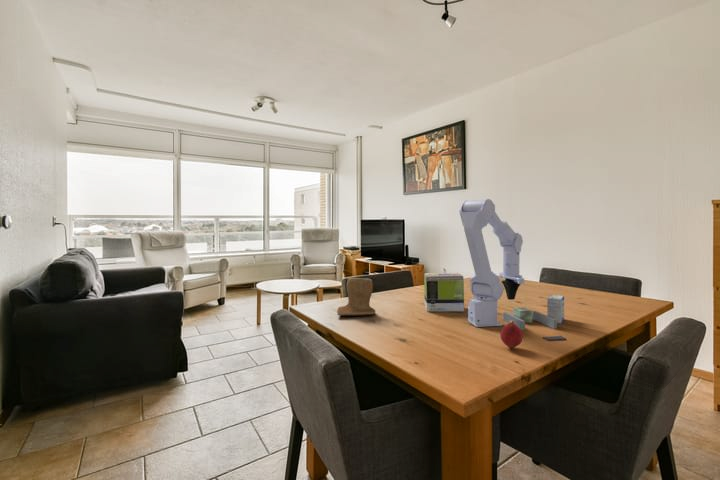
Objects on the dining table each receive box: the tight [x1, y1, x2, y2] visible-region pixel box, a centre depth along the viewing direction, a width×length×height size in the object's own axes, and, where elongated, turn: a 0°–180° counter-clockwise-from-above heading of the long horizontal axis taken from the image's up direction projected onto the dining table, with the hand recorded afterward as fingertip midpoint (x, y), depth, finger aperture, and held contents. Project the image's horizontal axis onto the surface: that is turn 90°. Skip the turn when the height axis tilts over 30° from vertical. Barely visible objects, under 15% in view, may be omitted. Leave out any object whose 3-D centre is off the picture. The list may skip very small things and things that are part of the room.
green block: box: [512, 306, 533, 324], centre depth 123 cm, size 4×4×4 cm
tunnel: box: [502, 310, 558, 331], centre depth 120 cm, size 12×12×3 cm
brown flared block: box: [336, 277, 376, 317], centre depth 136 cm, size 15×12×15 cm
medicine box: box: [546, 294, 565, 325], centre depth 123 cm, size 8×4×9 cm, turn 143°
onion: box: [499, 320, 524, 350], centre depth 97 cm, size 6×6×8 cm
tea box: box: [423, 272, 465, 312], centre depth 142 cm, size 15×10×15 cm, turn 84°
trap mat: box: [542, 335, 567, 342], centre depth 104 cm, size 6×2×1 cm, turn 95°
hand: (511, 299), depth 131 cm, fingers closed
